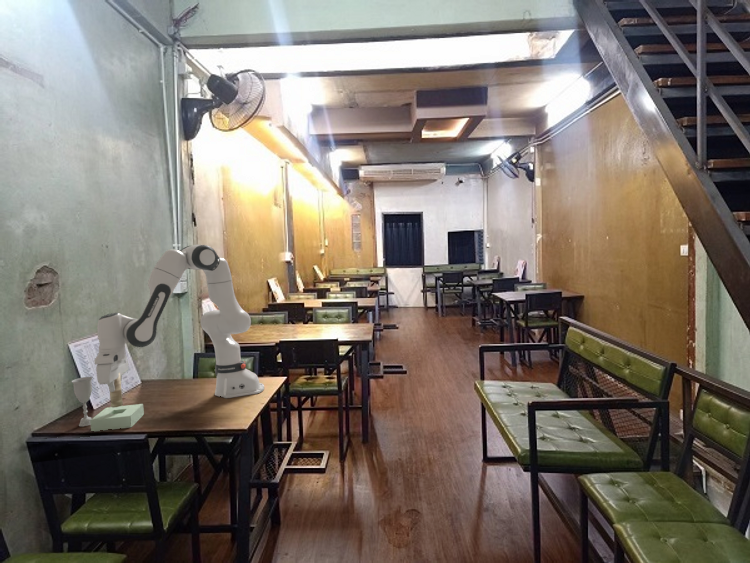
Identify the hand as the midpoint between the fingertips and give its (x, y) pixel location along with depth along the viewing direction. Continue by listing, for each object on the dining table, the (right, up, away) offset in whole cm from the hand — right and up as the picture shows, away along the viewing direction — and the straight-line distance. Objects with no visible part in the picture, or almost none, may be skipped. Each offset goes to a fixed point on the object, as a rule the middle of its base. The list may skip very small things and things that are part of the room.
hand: (115, 389), depth 169 cm
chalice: (-13, -14, +2) cm, 19 cm away
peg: (0, -7, 0) cm, 7 cm away
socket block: (+1, -14, +1) cm, 14 cm away
